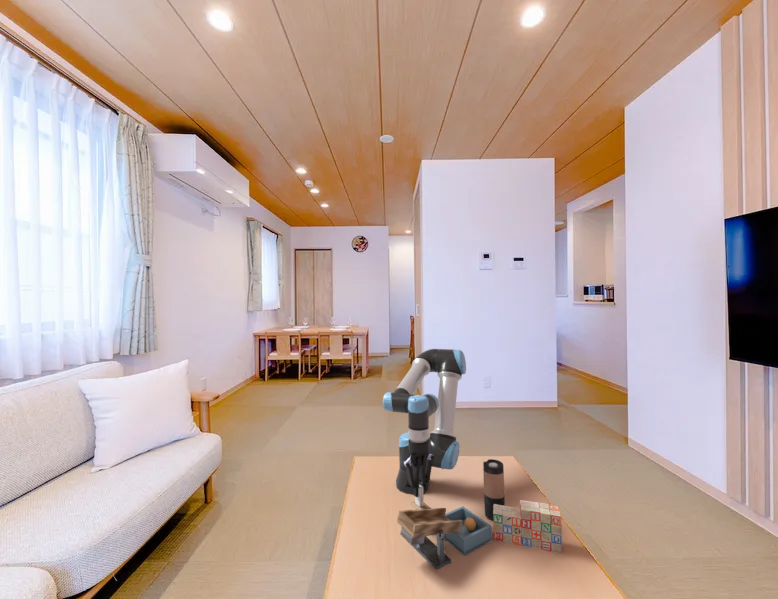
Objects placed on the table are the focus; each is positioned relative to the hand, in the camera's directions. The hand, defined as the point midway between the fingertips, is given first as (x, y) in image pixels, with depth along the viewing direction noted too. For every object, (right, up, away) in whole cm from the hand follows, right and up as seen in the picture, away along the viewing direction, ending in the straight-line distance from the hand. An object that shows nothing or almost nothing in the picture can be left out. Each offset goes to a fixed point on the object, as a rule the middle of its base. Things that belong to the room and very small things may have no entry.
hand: (419, 504), depth 125 cm
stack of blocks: (+36, -8, -8) cm, 38 cm away
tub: (+15, -8, -5) cm, 18 cm away
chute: (-1, -3, -9) cm, 9 cm away
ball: (+18, -5, -3) cm, 19 cm away
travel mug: (+30, -8, +6) cm, 31 cm away
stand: (+2, -8, -13) cm, 15 cm away
